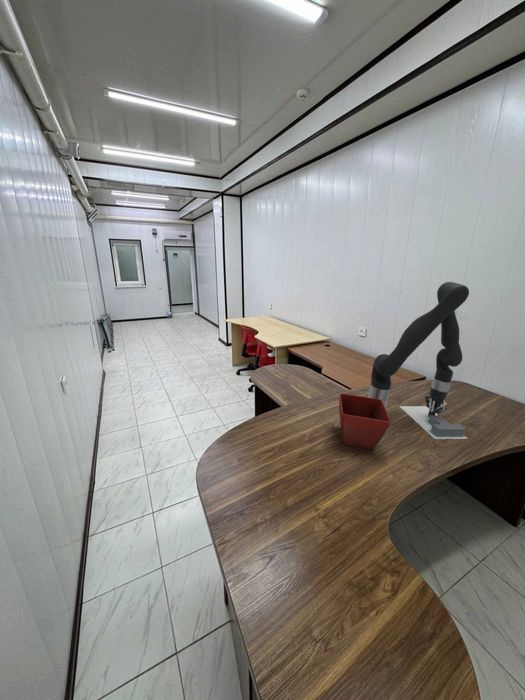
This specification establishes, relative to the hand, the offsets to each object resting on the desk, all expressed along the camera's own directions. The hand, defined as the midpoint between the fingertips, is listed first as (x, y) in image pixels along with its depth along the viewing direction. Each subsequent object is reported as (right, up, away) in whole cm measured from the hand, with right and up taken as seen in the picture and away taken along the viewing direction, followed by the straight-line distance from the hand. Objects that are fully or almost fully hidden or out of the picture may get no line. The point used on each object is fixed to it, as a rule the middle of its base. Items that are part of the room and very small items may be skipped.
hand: (430, 417), depth 144 cm
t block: (+1, -4, -7) cm, 8 cm away
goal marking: (+1, -4, -7) cm, 8 cm away
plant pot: (-45, -5, -19) cm, 49 cm away
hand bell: (+17, +4, +20) cm, 26 cm away
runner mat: (-1, -2, -1) cm, 2 cm away
